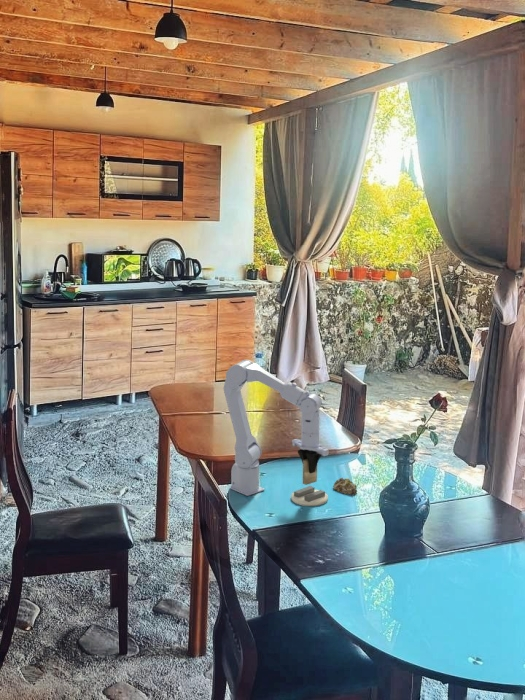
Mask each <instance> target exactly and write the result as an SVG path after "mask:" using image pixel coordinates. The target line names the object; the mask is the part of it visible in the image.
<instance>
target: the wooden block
mask: <svg viewBox="0 0 525 700" xmlns="http://www.w3.org/2000/svg"><path fill="white" fill-rule="evenodd" d="M317 481H318V465H317V466H316V470H315V472H314V473H309V465H308V459H305V460H303V463H302V485H304V486H309V485H310V484H314V483H316V482H317Z"/></svg>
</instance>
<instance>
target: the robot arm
mask: <svg viewBox="0 0 525 700" xmlns="http://www.w3.org/2000/svg"><path fill="white" fill-rule="evenodd" d="M252 382H259V383H261V384H263V385H265V386H266V387H269V388H271V389H273V390H274V391H277V392H279V395H280V397H281V398H282V399H283V400H285V401H286V402H288V403H290V404H292V405H293V406H296V407H297V408H299V409H298V410H299V411H300V413H301V431H300V432H301V433H300V434H301V435H300V437H301V439H299V438H295V439H292V441H291V443H292V445H291V446H293V447H298V448H299V450H297V454H298V455H299V458H300V459H301V462H302V464H303V460H305V459H308V465H309V473H314V472H315V470H316V466H317V467H318V463H319V460H320V459H321V456H322V457H326V456H329V453H330V451H329V449H328V448H326V447H325V446H323V445H322V444H320V410H319V409H320V408H321V406H322V404H323V403H322V398H321V397H320V396H319V395H318V394H317V393H316V392H310V391H309V390H304V389H303V388H301V387H299V386H297V385H298V384H297V383H296V382H291V381H289V382H284V381H282V380H281V379H279V378H278V377H276V376H274V375H273V374H271V372H269V371H267V370H266V369H264V368H263V367H261V366H260V365H259V364H258V363H256V362H253V361H252V360H250V359H243V360H241V361H239V362H238V363H236V364H233V365H231V367H229V368H228V370H227V371H226V372H225V381H224V384H223V393H224V396H225V400H226V401H225V402H226V404H227V408H228V412H229V415H230V420H231V424H232V428H233V432H234V435H235V439H236V440H235V444H234V451H235V453H234V454H235V455H234V462H235V463H233V465H232V467H231V471H230V473H231V476H230V477H231V479H230V481H231V486H229V489H230V490H232V491H235V492H238V493H239V494H242V495H244V496H246V497H247V496H248V497H249V496H251V495H255V494H258V493H259V492H263V491H265V488H264V487H262V486H260V461H259V458H260V457H261V456H262V448H261V446H260V445H259V444H258V441H257V439H256V437H255V436H254V435H253V434H252V430H251V426H250V423H249V419H248V415H247V411H246V407H245V402H244V399H243V395H242V392H241V389H242V388H243V387H244V386H245V383H252Z"/></svg>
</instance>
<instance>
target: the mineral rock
mask: <svg viewBox="0 0 525 700" xmlns="http://www.w3.org/2000/svg"><path fill="white" fill-rule="evenodd" d="M332 487H333V488H332V489H333V490H334V491H337V492H339V493H341V494H343V495H349V496H350V495H352V496H355V495H356V494H357V491H358V489H357V485H356V484H355V483H353V481H351V479H350V478H343V477H340V478H339V479H336V481H335V482H334V484H333V486H332Z"/></svg>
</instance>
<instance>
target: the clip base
mask: <svg viewBox="0 0 525 700" xmlns="http://www.w3.org/2000/svg"><path fill="white" fill-rule="evenodd" d="M328 498H329V495H328V494H327V493H326V491H325V490H322V489H315V487H314V486H311V485H307V486H306V487H303V488H300V489H297V490H295V491H293V492H292V493H291V494H290V499H291V502H292V503H294V504H296V505H299V506H304V507H317V506H322V505H324V504H326V503H327V502H328V500H329V499H328Z"/></svg>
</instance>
